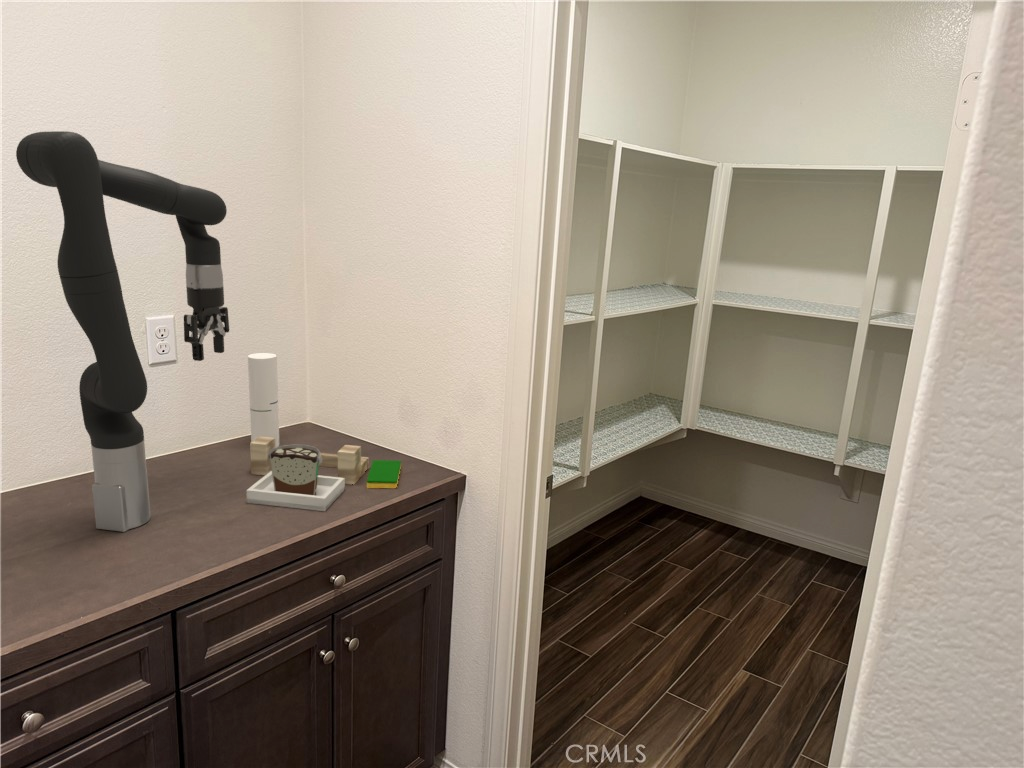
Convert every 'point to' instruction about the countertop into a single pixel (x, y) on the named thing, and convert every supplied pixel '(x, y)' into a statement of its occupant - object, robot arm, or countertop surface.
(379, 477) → the dish sponge
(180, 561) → the countertop surface
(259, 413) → the cylindrical container
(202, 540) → the countertop surface
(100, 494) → the robot arm
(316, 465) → the food container
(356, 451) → the holder
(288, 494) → the tray
